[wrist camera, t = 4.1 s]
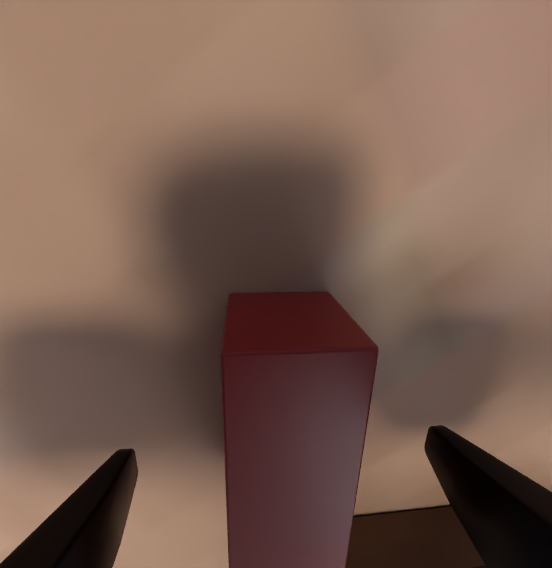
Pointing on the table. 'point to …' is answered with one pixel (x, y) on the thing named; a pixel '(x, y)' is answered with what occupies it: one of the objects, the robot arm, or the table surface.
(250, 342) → the red rectangular block
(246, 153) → the table surface
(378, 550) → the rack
